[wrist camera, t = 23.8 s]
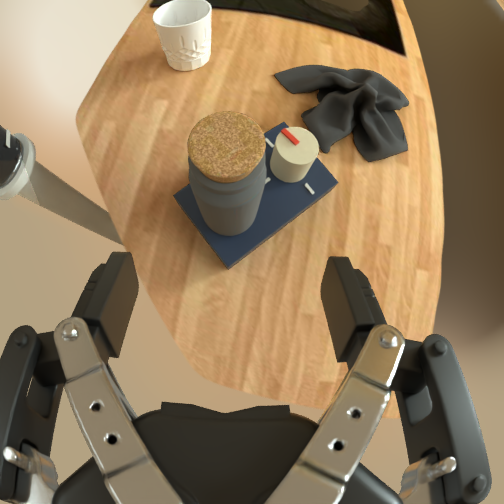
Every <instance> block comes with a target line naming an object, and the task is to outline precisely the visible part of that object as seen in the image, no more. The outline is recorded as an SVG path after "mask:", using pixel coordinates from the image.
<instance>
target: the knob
mask: <svg viewBox="0 0 504 504" xmlns="http://www.w3.org/2000/svg"><path fill="white" fill-rule="evenodd" d="M318 152H319V145H318V142H317V139H316V138H315V136H314V135H313V134H312V133H311V132H309V131H308V130H306V129H304V128H300V127H289V128H284V129H283V130H281V132H280V133H279V134H278V136H277V138H276V142H275V145H274V149H273V153H272V156H271V160H270V168H271V170H272V172H273V174H274V175H275V176H276V177H277V178H278V179H280V180H282V181H284V182H289V183H293V182H298V181H300V180H301V179H303V178H304V177H305V175H306V174H307V172H308V170H309V169H310V167H311V165H312V164H313V162H314V160H315V159H316V157H317V155H318Z"/></svg>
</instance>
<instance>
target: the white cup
mask: <svg viewBox="0 0 504 504" xmlns="http://www.w3.org/2000/svg"><path fill="white" fill-rule="evenodd" d="M153 22H154V25H155V28H156V31H157V34H158V37H159V40H160V43H161V46H162V48H163V51H164V53H165V55H166V58H167V61H168V64H169V65H170V66H171V67H172V68H173V69H175V70H180V71H189V70H194V69H197V68H199V67H202V66H203V65H204V64H205V63H206V62H208V60H209V57H210V54H211V53H210V45H211V5H210V4H209V3H208V2H207V1H205V0H173V1H170V2H168V3H166V4H164V5H162V6H161V7H159V8H158V9H157V10H156V11H155V12H154V14H153Z"/></svg>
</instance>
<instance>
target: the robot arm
mask: <svg viewBox="0 0 504 504" xmlns="http://www.w3.org/2000/svg"><path fill="white" fill-rule="evenodd" d="M23 154H24V148H23V144H22V142H21V141H20V140H19V139H17V138H16V137H14V136H13V135H11V134H10V131H9V130H8V129H7V130H5V129H4V128H3V127H2V126H1V125H0V189H1V188H4V187H5V186H6V185H8V184H9V183H10V182H11V181H12V179H13V178H14V177H15V175H16V174H17V172H18V170H19V168H20V166H21V163H22V159H23ZM138 288H139V284H138V278H137V274H136V270H135V266H134V262H133V258H132V254H131V253H130V252H112V253H111V255H110V257H109V259H108V261H107V263H106V264H100V265H99V266H98V267H97V268H96V269H95V270H94V271H93V272H92V274H91V276H90V278H89V280H88V283H87V284H86V286H85V288H84V290H83V292H82V294H81V296H80V298H79V301H78V303H77V305H76V307H75V309H74V311H73V313H72V316H71V317H70V318H67V319H65V320H63V321H62V322H60V323H59V324H58V326H57V327H56V329H55V331H52V332H46V333H40V334H37V333H36V332H35V330H34V329H33V328H32V327H31V326H28V325H24V326H20V327H18V328H17V329H15V330H14V331H13V332H12V333H11V335H10V337H9V339H8V341H7V344H6V346H5V349H4V351H3V354H2V356H1V358H0V500H3V501H6V502H9V503H12V504H478V503H480V502H481V501H483V500H484V499H485V498H486V497H487V495H488V493H489V491H490V489H491V484H492V478H491V472H490V468H489V463H488V458H487V453H486V449H485V444H484V441H483V437H482V433H481V429H480V426H479V422H478V418H477V415H476V412H475V408H474V405H473V402H472V400H471V396H470V393H469V390H468V387H467V384H466V381H465V379H464V376H463V373H462V371H461V368H460V365H459V363H458V360H457V357H456V355H455V353H454V350H453V348H452V346H451V344H450V342H449V341H448V340H447V339H445V338H444V337H443V336H441V335H437V334H431V335H429V336H427V337H426V338H425V340H424V341H423V342H418V341H413V340H408V339H404V337H403V335H402V334H401V332H400V331H399V330H397V329H396V328H394V327H393V326H390V325H387V323H386V320H385V318H384V315H383V313H382V310H381V308H380V306H379V303H378V301H377V299H376V297H375V294H374V292H373V289H371V285H370V283H369V281H368V278H367V277H366V276H365V275H364V274H363V273H362V272H361V271H360V270H359V269H353V267H352V264H351V262H350V260H349V258H348V257H336V256H330V257H329V258H328V261H327V265H326V269H325V272H324V276H323V280H322V283H321V300H322V303H323V307H324V311H325V315H326V319H327V322H328V326H329V330H330V334H331V338H332V342H333V346H334V350H335V355H336V359H337V363H338V362H347V365H348V369H349V370H348V372H347V374H346V375H345V377H344V379H343V381H342V383H341V384H340V386H339V388H338V390H337V391H336V393H335V395H334V397H333V398H332V400H331V402H330V403H329V405H328V406H327V408H326V410H325V411H324V413H323V414H322V416H321V417H320V419H319V420H318V422H317V423H315V422H314V421H312V420H310V419H309V418H306V417H304V416H302V415H298V414H295V413H290V408H289V405H277V406H256V407H252V408H248V409H244V410H239V411H234V412H230V413H221V412H217V411H214V410H210V409H206V408H203V407H200V406H196V405H193V404H182V403H170V402H162V404H161V409H159V410H154V411H150V412H148V413H145V414H143V415H141V416H139V417H137V415H136V413H135V412H134V410H133V409H132V407H131V406H130V404H129V402H128V401H127V399H126V397H125V395H124V393H123V391H122V389H121V388H120V386H119V384H118V382H117V380H116V378H115V376H114V374H113V372H112V370H111V368H110V366H109V364H108V359H109V357H114V358H118V357H119V355H120V351H121V347H122V344H123V340H124V337H125V333H126V330H127V327H128V323H129V320H130V317H131V314H132V311H133V307H134V304H135V301H136V298H137V295H138ZM31 378H32V381H31ZM30 381H31V385H30ZM29 385H30V388H29ZM63 387H65V391H66V393H67V396H68V399H69V402H70V405H71V407H72V410H73V412H74V415H75V417H76V419H77V422H78V425H79V427H80V429H81V431H82V434H83V436H84V438H85V440H86V443H87V445H88V447H89V449H90V451H91V453H92V455H93V456H92V458H90V459H89V460H88V461H87V462H86V463H84V464H83V465H82V466H81V467H80V468H79V469H78V470H76V471H75V472H74V473H73V474H72V475H71V476H69V477H68V478H67V479H66V480H65V481H64V482H63V483H61V484H60V485H58V482H57V479H58V474H57V472H56V469H55V465H54V463H53V462H52V460H51V459H50V451H51V445H52V439H53V433H54V428H55V422H56V417H57V413H58V408H59V404H60V399H61V395H62V391H63ZM28 388H29V392H28ZM391 390H392V391H395V394H396V399H397V403H398V407H399V412H400V417H401V421H402V426H403V431H404V436H405V441H406V447H407V452H408V458H409V466H408V467H407V469H406V470H405V472H404V474H403V477H402V481H401V486H402V487H401V491H400V493H399V494H397V493H396V492H395V491H393V490H392V489H391V488H390V487H388V486H387V485H386V484H385V483H384V482H382V481H381V480H380V479H379V478H378V477H377V476H375V475H374V474H373V473H372V472H371V471H369V470H368V469H367V468H366V467H365V466H363V464H361V463H360V462H359V461H360V459H361V458H362V455H363V454H364V452H365V450H366V448H367V446H368V444H369V442H370V440H371V438H372V436H373V434H374V432H375V430H376V427H377V426H378V423H379V421H380V419H381V417H382V415H383V412H384V410H385V408H386V405H387V403H388V401H389V398H390V395H391ZM27 392H28V395H27Z"/></svg>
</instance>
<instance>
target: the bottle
mask: <svg viewBox="0 0 504 504" xmlns="http://www.w3.org/2000/svg"><path fill="white" fill-rule="evenodd" d="M265 147H266V143H265V136H264V133H263V131H262V129H261V128H260V126H259V125H258V124H257V123H256V122H255V121H254V120H253V119H251V118H250V117H248V116H246V115H244V114H241V113H238V112H232V111H224V112H217V113H214V114H211V115H208V116H207V117H205V118H203V119H202V120H200V121H199V122H198V123H197V124H196V125H195V126H194V128H193V129H192V131H191V133H190V135H189V139H188V153H189V156H188V162H189V181H190V185H191V188H192V191H193V194H194V196H195V199H196V202H197V204H198V207H199V209H200V212H201V214H202V216H203V219H204V221H205V222H206V224H207V226H208V227H209V228H210V229H211V230H212V231H214V232H216V233H218V234H220V235H224V236H235V235H238V234H241V233H243V232H244V231H246V230H247V229H248V228H249V227H250V226H251V225H252V223H253V222H254V220H255V217H256V214H257V211H258V207H259V204H260V200H261V197H262V193H263V190H264V186H265V182H266V165H265Z"/></svg>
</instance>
